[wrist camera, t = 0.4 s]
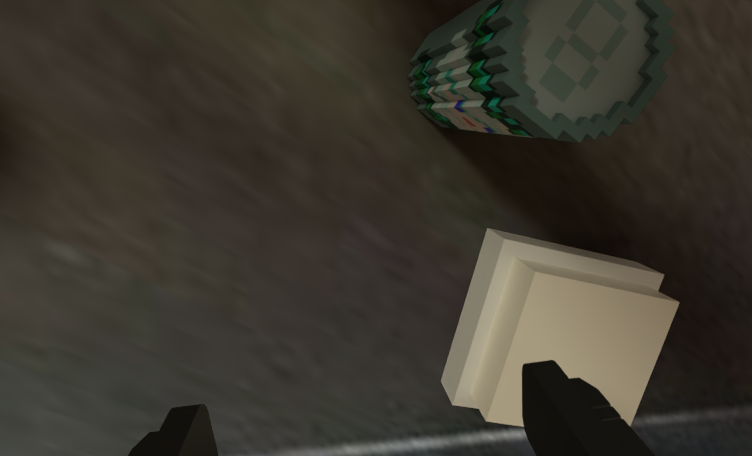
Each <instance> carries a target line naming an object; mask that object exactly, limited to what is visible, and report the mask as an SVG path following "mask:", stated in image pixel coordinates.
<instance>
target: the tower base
mask: <svg viewBox="0 0 752 456" xmlns="http://www.w3.org/2000/svg"><path fill="white" fill-rule="evenodd" d="M663 277H664V274H662V273H660V272H657V271H655V270H653V269H651V268H649V267H646V266H644V265H642V264H640V263H638V262H635V261H631V260H626V259H622V258H618V257H613V256H609V255H604V254H600V253H596V252H591V251H587V250H582V249H578V248H574V247H569V246H565V245H560V244H556V243H552V242H547V241H543V240H538V239H534V238H530V237H525V236H521V235H516V234H512V233H508V232H503V231H499V230H494V229H490V228H487V231H486V234H485V237H484V241H483V244H482V247H481V251H480V254H479V257H478V260H477V264H476V267H475V270H474V274H473V277H472V280H471V283H470V287H469V290H468V293H467V297H466V300H465V303H464V306H463V310H462V313H461V316H460V320H459V323H458V326H457V330H456V333H455V336H454V339H453V343H452V346H451V349H450V353H449V356H448V359H447V362H446V366H445V369H444V372H443V376H442V379H441V383H442V385H443V387H444V389H445V391H446V393H447V395H448V397H449V399H450V401H451V403H452V405H457V406H463V407H470V408H477V409H479V410H480V412H481V414H482V415H483V417H484V419H485V420H486V421H487V422H494V423H501V424H508V425H515V426H522V427H524V424H523V418H522V366H523V364H525V363H532V362H540V361H548V360H554V361H556V363H557V364H558V365H559V366H560V368H561V369H562V370H563V371H564V373H565V374H566V375H567V376H568V378H569V379H570V378H578V377H579V378H581V379H582V380H584V381H586V382H587V383H589V384H591V385H592V386H594V387H596V388H597V389H598V390H599V391H600V392H601V393H602V394H603V396H604V397H605V398H606V399H607V400H608V401H609V403H610V405H611V407H612V406H613V407H614V408H615V410H616V411H617V412H618V413H619V414H620V415H621V419H624V420H625V421H626V423H627V424H628V425H629V426H631V423H632V421H633V418H634V416H635V413H636V411H637V408H638V406H639V403H640V401H641V398H642V396H643V393H644V391H645V388H646V386H647V383H648V381H649V378H650V376H651V373H652V371H653V368H654V366H655V363H656V361H657V358H658V356H659V353H660V351H661V348H662V346H663V343H664V341H665V338H666V336H667V333H668V331H669V328H670V326H671V323H672V321H673V318H674V316H675V313H676V310H677V308H678V305H679V303H680V302H678V301H676V300H674V299H672V298H670V297H668V296H666V295H664V294H662V293H660V292H658V290H659V288H660V285H661V282H662V280H663Z"/></svg>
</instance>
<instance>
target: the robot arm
mask: <svg viewBox="0 0 752 456" xmlns="http://www.w3.org/2000/svg"><path fill="white" fill-rule="evenodd" d="M522 418H523V424H524V429H525V432H526V435H527V438H528V440H529V442H530V444H531V446H532V448H533V450H534V452H535V454H536V455H537V456H655V455H654V454H653V453H652V452H651V451H650V449H649V448H648V447H647V446H646V445H645V444H644V442H643V441H642V440H641V439H640V438H639V437H638V435H637V434H636V433H635V432H634V431H633V430H632V428H631V427H630V426H629V425H628V424H627V423H626V421H625V420H624V419H621V415H620V414H619V413H618V412H617V411H616V410H615V408H614V407H613V406H612V407H611V405H610V403H609V401H608V400H607V399H606V398H605V397H604V396H603V394H602V393H601V392H600V391H599V390H598V389H597V388H596V387H594V386H592V385H591V384H589V383H587V382H586V381H584V380H582V379H581V378H579V377H578V378H570V379H569V378H568V376H567V375H566V374H565V373H564V371H563V370H562V369H561V368H560V366H559V365H558V364H557V363H556V361H554V360H548V361H540V362H532V363H525V364H523V366H522ZM128 456H218V452H217V447H216V443H215V439H214V435H213V430H212V426H211V422H210V418H209V413H208V410H207V407H206V406H205V405H204V404H199V405H191V406H183V407H176V408H172V409H171V410H170V411H169V413H168V415H167V417H166V419H165V421H164V423H163V425H162V426H161V428H160V430H159V431H157V432H149V433H148V434H147V435H146V436H145V437H144V438H143V439H142V440H141V441H140V442H139V443H138V444H137V445H136V446H135V447H134V448H133V449H132V450H131V451H130V453H129V455H128Z"/></svg>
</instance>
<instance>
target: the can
mask: <svg viewBox="0 0 752 456" xmlns="http://www.w3.org/2000/svg"><path fill="white" fill-rule="evenodd" d="M674 14H675V13H674V12H673V11H672V10H671V9H670V8H669V7H668V6H667V5H666V4H664V3H663V2H662V1H661V0H480V1H479V2H477V3H476V4H474V5H473V6H471V7H470V8H468V9H467V10H465V11H463V12H462V13H460V14H459V15H457V16H456V17H454V18H453V19H451V20H450V21H448V22H447V23H445V24H443V25H442V26H440V27H439V28H437V29H436V30H434V31H433V32H431V33H430V34H428V35H427V37H426V38H425V40H424V41H423V43H422V44H421V46H420V47H419V49H418V50H417V52H416V53H415V55H414V56H413V58H412V59H411V61H410V62H409V63H411V64H412V65H413V66H414V68H413V69H412V71H411V72H410V74H409V75H408V77H407V78H409V79H410V80H411V81H412V82H411V84H410V85H409V87H410V88H411V89H412V90H414V91H413V92H412V94H411V95H410V96H411V97H412V98H413V99H415V100H416V101H417V102H419V103H420V104H419V106H418V107H417V110H419V111H420V112H421V113H423V114H424V115H426V116H427V117H428V118H430V119H431V120H432V121H434V122H435V123H436V124H438V125H439V126H440V127H445V128H454V129H459V130H468V131H477V132H486V133H495V134H504V135H513V136H522V137H531V138H540V139H549V140H558V141H567V142H576V143H580V142H581V141H582V139H591V140H595V139H596V138H597V136H606V137H610V136H611V135H612V133H613V132H614V131H615V129H616V128H617V127H618V125H619V124H633V122H634V121H635V120H636V118H637V117H638V116H639V114H640V113H641V112H642V110H643V109H644V108H645V106H646V105H647V103H648V102H649V101H650V99H651V98H652V97H653V95H654V94H655V93H656V91H657V90H658V89H659V87H660V86H661V85H662V83H663V82H664V81H665V79H666V78H667V77H668V75H667V74H666V73H665V72H664V71H663V70H662V69H661V67H662V66H663V64H664V63H665V62H666V60H667V59H668V58H669V56H670V55H671V54H672V52H673V51H674V50H675V48H674V47H673V46H672V45H671V44H670V43H669V42H668V40H669V39H670V37H671V36H672V34H673V33H674V32H675V31H674V30H673V29H672V28H671V27H670V26H669V25H668V24H667V23H668V22H669V20H670V19H671V18H672V16H673V15H674Z"/></svg>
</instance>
